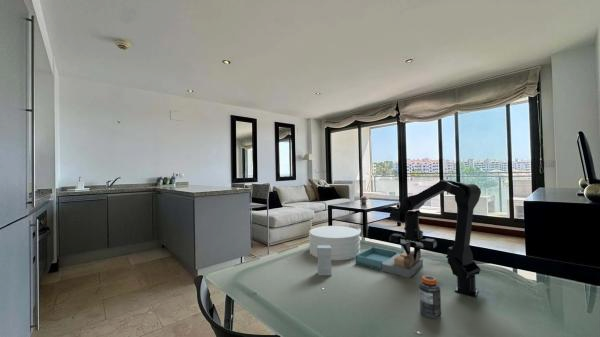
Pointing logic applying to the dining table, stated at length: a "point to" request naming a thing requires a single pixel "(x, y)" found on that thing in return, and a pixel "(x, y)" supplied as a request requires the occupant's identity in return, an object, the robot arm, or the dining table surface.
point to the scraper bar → (411, 259)
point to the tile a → (399, 261)
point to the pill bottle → (430, 297)
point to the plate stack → (336, 241)
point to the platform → (401, 267)
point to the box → (374, 257)
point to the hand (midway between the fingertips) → (412, 259)
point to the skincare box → (324, 260)
